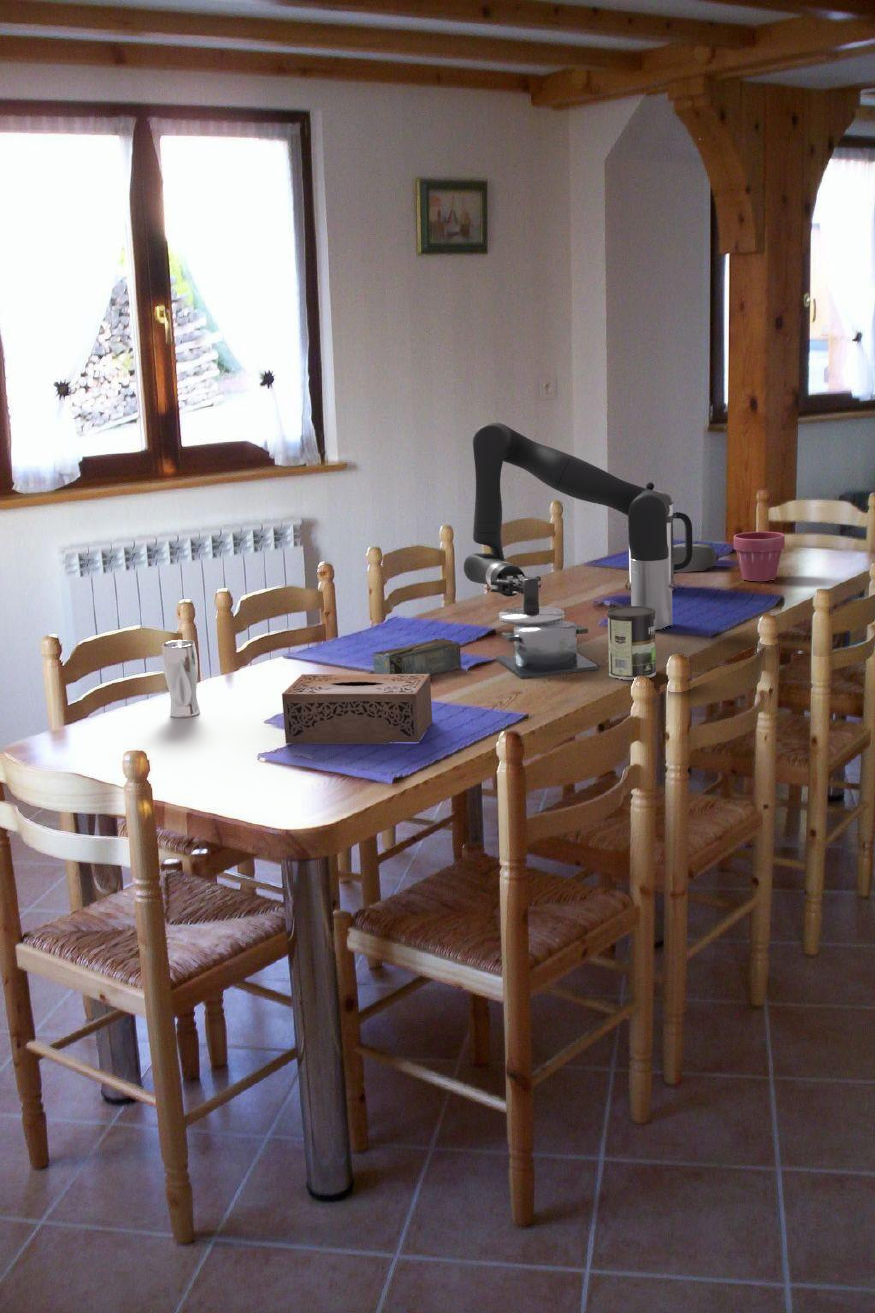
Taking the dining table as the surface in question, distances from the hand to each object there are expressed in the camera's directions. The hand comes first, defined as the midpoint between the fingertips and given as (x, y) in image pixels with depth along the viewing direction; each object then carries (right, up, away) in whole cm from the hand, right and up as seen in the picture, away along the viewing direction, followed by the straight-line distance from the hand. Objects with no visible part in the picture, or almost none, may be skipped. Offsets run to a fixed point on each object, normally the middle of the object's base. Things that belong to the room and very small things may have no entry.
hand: (528, 590), depth 317 cm
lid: (+1, -6, 0) cm, 6 cm away
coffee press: (+40, +4, +69) cm, 80 cm away
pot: (+4, -17, -6) cm, 18 cm away
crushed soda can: (-73, -27, -31) cm, 84 cm away
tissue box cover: (-36, -30, -50) cm, 68 cm away
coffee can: (+21, -19, -18) cm, 34 cm away
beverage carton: (-25, -19, -8) cm, 33 cm away
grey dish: (+53, +11, +96) cm, 110 cm away
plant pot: (+70, +7, +75) cm, 103 cm away
